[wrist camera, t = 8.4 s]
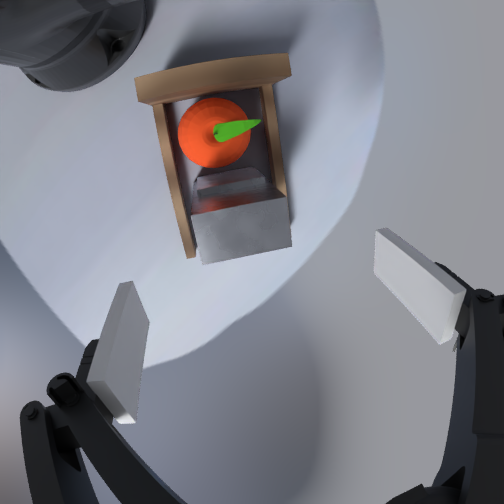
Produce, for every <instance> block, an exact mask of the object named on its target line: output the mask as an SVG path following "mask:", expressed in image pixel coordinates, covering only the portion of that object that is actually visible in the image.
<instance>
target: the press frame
mask: <svg viewBox="0 0 504 504" xmlns="http://www.w3.org/2000/svg"><path fill="white" fill-rule="evenodd" d="M290 76H292V74H291V68H290V62H289V56H288V53H276V54H263V55H252V56H243V57H235V58H227V59H220V60H214V61H207V62H202V63H196V64H191V65H186V66H181V67H176V68H172V69H167V70H163V71H159V72H155V73H151V74H147V75H144V76H140V77H136V78H134V79H135V85H136V91H137V97H138V102H142V103H145V104H148V105H152V106H153V112H154V117H155V122H156V127H157V133H158V138H159V143H160V148H161V152H162V157H163V162H164V166H165V171H166V176H167V180H168V184H169V189H170V193H171V197H172V202H173V206H174V210H175V214H176V218H177V222H178V226H179V230H180V234H181V238H182V242H183V245H184V249H185V253H186V257H187V259H188V258H193V257H196V248H195V244H194V240H193V236H192V232H191V228H190V224H189V219H188V215H187V211H186V207H185V202H184V198H183V193H182V189H181V184H180V180H179V175H178V170H177V166H176V161H175V156H174V151H173V146H172V141H171V136H170V131H169V126H168V120H167V115H166V109H165V104H168V103H173V102H177V101H182V100H186V99H191V98H196V97H201V96H206V95H212V94H218V93H224V92H230V91H237V90H244V89H252V88H259V95H260V101H261V107H262V114H263V121H264V127H265V134H266V141H267V148H268V155H269V162H270V169H271V177H272V184H273V185H274V186H276V187H277V188H278V189H279V190H280V191H281V192H282V193H283V194H284V195H285V196H286V197H287V193H286V184H285V176H284V168H283V160H282V152H281V145H280V137H279V130H278V123H277V116H276V109H275V103H274V96H273V89H272V84H274V83H276V82H279V81H281V80H283V79H285V78H287V77H290ZM287 203H288V201H287ZM288 212H289V210H288ZM289 221H290V219H289ZM290 231H291V229H290Z"/></svg>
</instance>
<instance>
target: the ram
mask: <svg viewBox="0 0 504 504" xmlns="http://www.w3.org/2000/svg"><path fill="white" fill-rule="evenodd" d="M191 220H192V224H193V228H194V233H195V237H196V241H197V245H198V249H199V253H200V257H201V261H202V265H206V264H211V263H215V262H220V261H225V260H230V259H235V258H239V257H244V256H249V255H254V254H259V253H263V252H268V251H273V250H278V249H283V248H287V247H292V240H291V231H290V221H289V212H288V203H287V197H286V196H285V195H284V194H283V193H282V192H281V191H280V190H279V189H278V188H277V187H276V186H274V185H273V184H272V183H271V182H270V181H269V180H268V179H267V178H266V177H265V176H263V175H262V174H261V173H260V172H259V171H258V170H257V169H255V168H254V167H248V168H242V169H237V170H231V171H226V172H221V173H216V174H211V175H206V176H201V177H197V181H196V182H194V186H193V196H192V206H191Z"/></svg>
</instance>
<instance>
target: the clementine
mask: <svg viewBox="0 0 504 504" xmlns="http://www.w3.org/2000/svg"><path fill="white" fill-rule="evenodd" d="M260 122H261V120H259V119H255V120H248V118H247V116H246V114H245V113H244V111H243V110H242V109H241V108H240V107H239V106H238V105H236V104H235V103H233V102H232V101H229V100H226V99H224V98H208V99H203V100H201V101H199V102H197V103H195V104H193V105H192V106H191V107H190V108H188V109H187V111H186V112H185V113H184V115H183V116H182V118H181V121H180V123H179V126H178V140H179V145H180V147H181V149H182V151H183V153H184V154H185V155H186V156H187V157H188V158H189V159H190V160H191V161H193V162H194V163H196V164H198V165H201V166H204V167H207V168H219V167H224V166H227V165H229V164H231V163H233V162H235V161H236V160H237V159H238V158H240V157H241V156H242V154H243V153H244V152H245V150H246V149H247V146H248V144H249V142H250V135H251V128H253V127H254V126H256V125H257V124H259V123H260Z"/></svg>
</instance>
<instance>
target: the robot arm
mask: <svg viewBox="0 0 504 504" xmlns="http://www.w3.org/2000/svg"><path fill="white" fill-rule="evenodd" d="M145 22H146V6H145V2H144V0H0V64H3V65H10V66H16V67H19V68H20V69H21V70H22V72H23V73H24V74H25V75H26V76H27V77H28V78H29V79H30V80H31V81H32V82H33V83H35V84H36V85H38V86H40V87H42V88H44V89H48V90H53V91H61V92H71V91H78V90H82V89H85V88H88V87H91V86H93V85H95V84H97V83H99V82H101V81H103V80H104V79H106V78H107V77H109V76H110V75H111V74H113V73H114V72H115V71H116V70H117V69H118V68H119V67H121V66H122V65H123V63H124V62H125V61H126V60H127V59H128V58H129V57H130V55H131V54H132V52H133V51H134V49H135V48H136V46H137V44H138V43H139V41H140V38H141V36H142V34H143V31H144V27H145ZM375 239H376V240H375V258H374V274H375V275H376V276H377V277H378V278H379V279H380V280H381V281H382V282H383V283H384V284H385V285H386V286H387V287H388V288H389V289H390V291H391V292H393V294H394V295H395V296H396V297H397V298H398V299H399V300H400V301H401V302H402V303H403V304H404V305H405V306H406V308H407V309H408V310H409V311H410V312H411V313H412V314H413V315H414V317H415V318H416V319H417V320H418V321H419V322H420V323H421V324H422V325H423V327H424V328H425V329H426V330H427V331H428V332H429V333H430V334H431V336H432V337H433V338H434V339H435V340H436V341H437V343H438V344H439V345H440V344H442V343H444V342H446V341H448V340H450V339H451V338H452V335H453V332H454V329H456V331H458V333H459V335H458V338H457V340H456V343H455V345H454V348H453V351H454V352H455V349H456V348H457V356H456V375H455V385H454V396H453V404H452V411H451V418H450V425H449V431H448V436H447V442H446V447H445V451H444V456H443V461H442V464H441V467H440V470H439V472H438V473H437V475H436V477H435V479H434V482H433V484H432V486H431V487H425V488H424V487H423V485H422V484H420V485H418V486H416V487H414V488H412V489H410V490H409V491H407V492H404V493H402V494H400V495H398V496H396V497H394V498H393V499H392V500H390V501H389V502H387V503H386V504H504V295H498V296H495V295H494V294H493V293H492V292H490V291H488V290H485V289H476V290H474V289H473V288H472V287H470V286H469V285H468V284H467V283H466V282H464V281H463V280H462V279H461V278H459V277H457V275H456V274H455V273H453V272H451V270H449V269H448V268H447V267H446V266H444V265H442V264H439V263H437V262H435V263H434V262H432V261H431V260H430V259H428V258H427V257H426V256H424V255H423V254H422V253H421V252H419V251H418V250H417V249H415V248H414V247H413V246H411V245H410V244H409V243H407V242H406V241H405V240H403V239H402V238H401V237H399V236H397V235H396V234H395V233H394V232H392V231H391V230H389V229H388V228H383V229H378V230H376V237H375ZM149 323H150V322H149V320H148V318H147V315H146V313H145V310H144V308H143V306H142V303H141V301H140V298H139V296H138V293H137V291H136V288H135V286H134V283H133V281H129V282H125V283H120V284H119V286H118V289H117V291H116V294H115V296H114V299H113V302H112V304H111V307H110V310H109V313H108V315H107V318H106V321H105V324H104V327H103V330H102V333H101V336H100V339H96V340H92V341H91V342H90V343H89V344H88V346H87V347H86V348H85V351H84V354H83V358H82V360H81V363H80V364H81V365H80V366H79V369H78V372H77V375H76V378H74V376H73V375H71V374H70V373H61V374H58V375H56V376H55V377H54V378H53V379H52V380H51V381H50V382H49V384H48V386H47V395H48V396H49V397H50V398H51V399H52V400H53V401H54V403H55V405H51V406H48V407H44V406H43V405H42V404H41V403H40V402H39V401H32V402H29V403H27V404H26V405H25V406H24V407H23V409H22V411H21V414H20V426H21V436H22V446H23V453H24V460H25V466H26V473H27V477H28V483H29V488H30V493H31V497H32V500H33V504H99V502H98V500H97V497H96V495H95V492H94V490H93V487H92V484H91V481H90V479H89V476H88V473H87V470H86V467H85V464H84V461H83V458H82V455H81V452H80V449H79V448H80V447H81V448H82V449H83V451H84V452H85V454H86V455H87V457H88V458H89V460H90V461H91V463H92V464H93V466H94V467H95V469H96V470H97V472H98V473H99V475H100V476H101V477H102V479H103V480H104V481H105V483H106V484H107V486H108V487H109V488H110V490H111V491H112V492H113V493H114V495H115V496H116V497H117V498H118V500H119V501H120V502H121V503H122V504H187V503H186V502H185V501H184V500H183V499H181V498H180V497H179V496H178V495H177V494H176V493H175V492H174V491H173V490H172V489H171V488H170V487H169V486H168V485H167V484H165V483H164V482H163V481H162V480H161V479H160V478H159V477H158V476H157V475H156V473H154V471H153V470H152V469H151V468H150V467H149V466H148V465H147V464H146V463H145V462H144V461H143V460H142V459H141V458H140V456H139V455H138V454H137V453H136V452H135V451H134V450H133V449H132V448H131V446H130V445H129V444H128V443H127V442H126V440H125V439H124V438H123V437H122V435H121V434H120V433H119V432H118V431H117V429H116V428H115V427H114V426H113V425H112V421H113V416H114V418H115V419H116V420H117V421H118V422H119V423H120V424H125V423H136V420H137V410H138V400H139V392H140V384H141V376H142V368H143V361H144V354H145V348H146V341H147V335H148V329H149Z"/></svg>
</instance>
